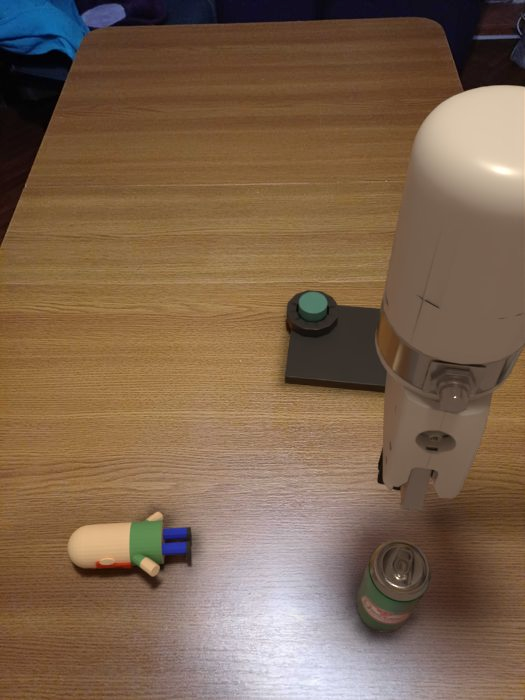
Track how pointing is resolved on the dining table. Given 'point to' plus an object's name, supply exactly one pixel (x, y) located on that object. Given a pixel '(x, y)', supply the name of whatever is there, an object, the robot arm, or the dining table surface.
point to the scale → (334, 348)
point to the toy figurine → (128, 544)
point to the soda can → (392, 585)
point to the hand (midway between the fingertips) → (398, 476)
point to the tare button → (312, 306)
